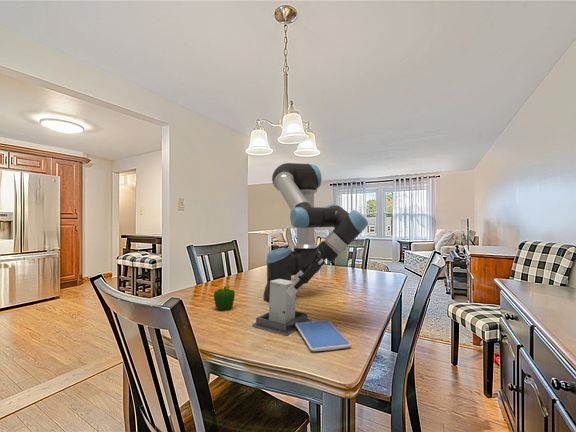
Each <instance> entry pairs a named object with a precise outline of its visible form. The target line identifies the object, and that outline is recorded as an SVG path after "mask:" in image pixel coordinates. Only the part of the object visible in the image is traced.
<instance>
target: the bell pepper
mask: <svg viewBox="0 0 576 432" xmlns="http://www.w3.org/2000/svg"><path fill="white" fill-rule="evenodd" d="M235 295H236V294H235V290H234V289H231V285H225V286H224V287H223V289H222V288H219V289H218V290H216V291H214V293H213V300H214V305H215V308H216V309H217V310H218V311H224V310H230V309H232V308H233V306H234V302H235V297H236V296H235Z"/></svg>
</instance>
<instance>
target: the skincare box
mask: <svg viewBox="0 0 576 432" xmlns="http://www.w3.org/2000/svg"><path fill="white" fill-rule="evenodd" d="M293 283H294V282H292V281H289V280H283V279H276V280H271V281H270V299H269V302H268V303H269V305H268V312H269V320H272V321H276V322H280V323H284V324H286V323H288V322H289V321H291V320H293V319H295V311H296V299H297V298H296V295H297V292H296V293H295V294H294V295H293V296H292V297H290V296H289V295H288V294H287V293H286V290H287V289H288V288H289V287H290V286H291V285H292V284H293Z"/></svg>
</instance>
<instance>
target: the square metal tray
mask: <svg viewBox="0 0 576 432" xmlns="http://www.w3.org/2000/svg"><path fill="white" fill-rule="evenodd" d="M301 322H312V318H308V312H302V311H297V310H295V319H293V320H291V321H289V322H288V323H286V324H284V323H280V322H276V321H272V320H269V311H268V312H266V313H264V314H261V315H260V316H259V315H258V316H257V317H255V322H254V323H252V325H251V327H252V328H256V329H259V330H263V331H268V332H270V333H274V334H277V333H278V335H281V334H282V335H281V336H285V337H288V336H289V335H291V334H293V333H294V332H296V331H297V330H298V329H297V327H296V326H295V324H296V323H301ZM298 331H299V330H298Z"/></svg>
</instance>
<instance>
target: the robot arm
mask: <svg viewBox="0 0 576 432" xmlns="http://www.w3.org/2000/svg"><path fill="white" fill-rule="evenodd" d="M271 182H272V185H273V186H274V188H275V190H277V191H279V192H280V194H281V196H282V197H283V199H284V201H285V202H286V204H287V206H288V208H290V215H289V220H290V223H291V226H292V227H294V228H296V244H295V245H294V246H293V251H292V249H291V248H288V247H287V248H286V247H284V248H276V249H273V250H270V251H269V252H268V253H267V255H266V285H265V289H264V292H263V300H264V301H265V302H268V303H269V299H270V281H271V280H276V279H283V280H289V281H292V282H294V283H293V284H292V285H291V286H290V287H289V288H288V289H287V290H286V293H287V294H288V295H289V296H290V297H292V296H293V295H294V294H295V293H296V294H297V292H298V291H299V290H300V289H301V288H302V287H304V285H306V284H308V283H309V281H310V280H311V279H312V278H313V277H314V276H315V274H318V273H319V272H320V271H321V268H322V266H324V265H325V264H326V261H325V260H327V261H329V262H330V263H333V262H334V261H335V259H336V258H338V256H339V254H341V253H342V252H343V251H347V247H348V246H349V245H350V244H351V243H352V242H353V241H355V239H356V238H357V237H358V236H359V235H361V233H363V232H364V231H365V229H366V228H367V227H368V225H369V222H368V220H367V218H366V217H364V216H363V215H362V214H361V213H360V212H359V211H358V210H356V209H353V210H352V211H350V212H348V211H347V210H345V209H344V208H343V207H342V206H340V205H338V204H335V203H332V204H329V205H327V206H326V207H325V206H324V207H323V206H322V207H319V206H317V207H315V200H314V199H315V194H316V193H317V191H318V188H321V185H322V184H321V183H322V173H321V170H320V167H318V165H316V164H312V163H311V164H310V163H293V162H286V163H282V164H279V166H277V167H276V168H275V169H274V171H273V173H272V176H271ZM315 228H333V230H331V232H329V234H327V236H325V238H324V240H322V241H321V242H320V243H318V245H317V244H315ZM292 276H293V277H292Z"/></svg>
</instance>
